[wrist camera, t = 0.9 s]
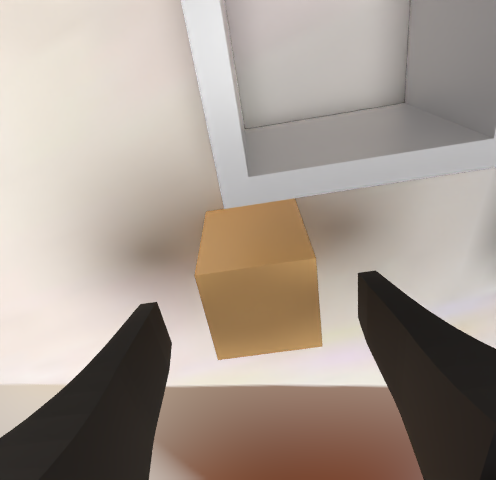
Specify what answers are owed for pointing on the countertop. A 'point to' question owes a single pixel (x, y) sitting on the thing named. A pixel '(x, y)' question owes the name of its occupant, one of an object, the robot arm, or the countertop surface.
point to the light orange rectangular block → (258, 280)
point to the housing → (357, 112)
